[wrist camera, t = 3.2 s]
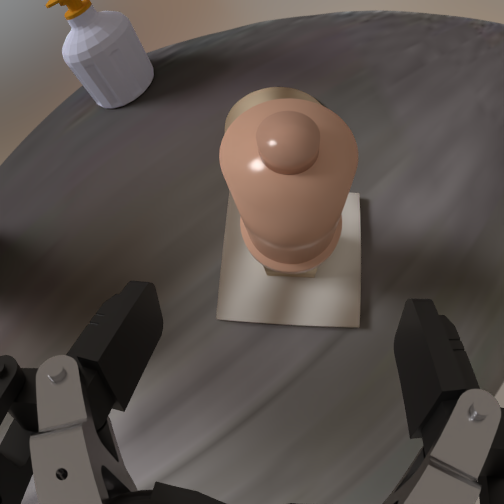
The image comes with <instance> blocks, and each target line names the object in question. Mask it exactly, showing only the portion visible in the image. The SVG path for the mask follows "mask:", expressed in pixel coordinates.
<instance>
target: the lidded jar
mask: <svg viewBox="0 0 504 504" xmlns="http://www.w3.org/2000/svg"><path fill="white" fill-rule="evenodd" d="M219 157H220V166H221V170H222V173H223V175H224V177H225V180H226V182H227V185H228V187H229V189H230V192H231V194H232V197H233V199H234V201H235V204H236V206H237V209H238V211H239V213H240V216H241V217H240V228H241V234H242V237H243V240H244V242H245V244H246V246H247V248H248V250H249V252H250V253H251V255H252V256H253V257H254V258H255V259H256V260H257V261H258V262H259V263H260V264H262V265H263V266H265V267H266V268H268V269H270V270H273V271H275V272H279V273H284V274H299V273H304V272H308V271H310V270H313V269H315V268H316V267H318V266H320V265H321V264H322V263H324V262H325V261H326V260H327V259H328V258H329V257H330V256H331V254H332V253H333V251H334V250H335V248H336V246H337V243H338V241H339V238H340V236H341V231H342V215H341V214H342V211H343V208H344V205H345V202H346V199H347V196H348V194H349V191H350V188H351V185H352V182H353V179H354V176H355V173H356V169H357V165H358V149H357V144H356V141H355V138H354V136H353V134H352V132H351V130H350V129H349V127H348V126H347V124H346V123H345V122H344V121H343V120H342V119H341V118H340V117H339V116H338V115H337V114H335V113H334V112H332V111H331V110H329V109H328V108H326V107H324V106H322V105H319V104H317V103H314V102H311V101H307V100H302V99H293V98H285V99H275V100H270V101H266V102H263V103H260V104H258V105H256V106H253V107H251V108H250V109H248V110H246V111H245V112H243V113H242V114H241V115H240V116H238V117H237V118H236V119H235V120H234V121H233V122H232V124H231V125H230V126H229V128H228V129H227V131H226V133H225V135H224V137H223V140H222V142H221V147H220V155H219Z"/></svg>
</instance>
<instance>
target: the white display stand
mask: <svg viewBox="0 0 504 504" xmlns="http://www.w3.org/2000/svg"><path fill="white" fill-rule="evenodd" d="M341 215H342V231H341V236H340V238H339V241H338V243H337V246H336V248H335V250H334V251H333V253H332V254H331V256H330V257H329V258H328V259H327V260H326V261H325V262H324V263H322V264H321V265H320V266H318V267H316V268H315V269H313V270H310V271H308V272H304V273H299V274H284V273H279V272H275V271H273V270H270V269H268V268H266V267H265V266H263V265H262V264H260V263H259V262H258V261H257V260H256V259H255V258H254V257H253V256H252V255H251V253H250V252H249V250H248V248H247V246H246V244H245V242H244V240H243V237H242V234H241V228H240V217H241V216H240V213H239V211H238V209H237V206H236V204H235V201H234V199H233V197H232V194H231V192H229V200H228V209H227V218H226V227H225V236H224V245H223V254H222V264H221V273H220V283H219V293H218V304H217V314H216V319H218V320H226V321H238V322H251V323H265V324H281V325H299V326H320V327H351V328H358V327H359V325H360V298H361V226H360V199H359V193H349V194H348V196H347V199H346V202H345V205H344V208H343V211H342V214H341Z"/></svg>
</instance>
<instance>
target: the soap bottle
mask: <svg viewBox="0 0 504 504" xmlns="http://www.w3.org/2000/svg"><path fill="white" fill-rule="evenodd" d="M57 3H59V4H60V5H61V6H64V5H66V6H67V7H68V9H69V10H68V11H67V12H66V13H65V18H66V19H67V21H68V23H69V24H70V26H71V27H72V29H71V31H70V32H69V34H68V35H67V37H66V40H65V42H64V45H63V48H62V54H63V58H64V60H65V62H66V64H67V65H68V66H69V67H70V69H71V70H72V72H73V73H74V74H75V76H76V77H77V78H78V79H79V81H80V82H81V83H82V85H83V86H84V87H85V89H86V90H87V91H88V93H89V94H90V95H91V96H92V98H93V99H94V100H95V102H96V103H97V104H98V105H100V106H102V107H103V108H117V107H120V106H124V105H126V104H128V103H130V102H131V101H133V100H135V99H136V98H137V97H139V96H140V95H141V94H142V93H144V91H145V90H146V89H147V88H148V86H149V85H150V84H151V81H152V79H153V77H154V71H153V66H152V64H151V62H150V60H149V58H148V56H147V54H146V52H145V51H144V48H143V46H142V44H141V43H140V41H139V38H138V37H137V35H136V33H135V30H134V29H133V27H132V24H131V23H130V21H129V19H128V18H127V17H126V16H125V15H124V14H122V13H121V12H116V11H102V12H96V10H95V9H94V7H93V5H92V3H91V2H90V0H83V1H81V0H49V1H48V3H47V4H46V7H47V8H50V7H52V6H54V5H55V4H57Z"/></svg>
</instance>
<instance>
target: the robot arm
mask: <svg viewBox="0 0 504 504" xmlns="http://www.w3.org/2000/svg"><path fill="white" fill-rule="evenodd" d="M162 331H163V318H162V313H161V309H160V305H159V301H158V297H157V293H156V288H155V286H154V284H153V283H150V282H140V281H130V282H129V283H128V284H127V285H126V286H125V288H124V289H123V290H122V292H121V293H120V294H115V295H114V296H113V297H111V298H110V299H108V300H107V301H106V302H104V303H103V305H102V306H101V307H100V309H99V310H98V311H97V313H96V315H94V317H93V318H92V320H91V321H90V324H88V325H87V326H86V328H85V329H84V331H83V332H82V333H81V335H80V336H79V338H78V339H77V340H76V342H75V343H74V345H73V346H72V347H71V349H70V350H69V352H68V353H67V355H58V356H54V357H51V358H49V359H48V360H46V361H45V362H44V363H43V364H42V365H41V366H40V367H39V368H20V366H19V365H18V363H17V362H16V360H15V359H14V358H13V357H11V356H8V355H4V356H0V425H1V423H2V421H3V419H4V418H5V416H6V414H7V412H9V414H10V415H11V416H12V417H13V418H14V420H13V422H12V424H11V425H10V427H9V429H8V431H7V433H6V435H5V437H4V439H3V441H2V443H1V445H0V504H21V501H22V499H23V496H24V494H25V491H26V489H27V487H28V484H29V482H30V479H31V477H32V475H34V481H35V487H36V492H37V498H38V503H39V504H226V503H223V502H221V501H218V500H216V499H214V498H211V497H209V496H207V495H204V494H202V493H200V492H198V491H193V490H189V489H184V488H180V487H175V486H171V485H167V484H163V483H160V482H155V485H154V488H153V490H140V491H138V490H137V488H136V486H135V484H134V482H133V480H132V478H131V476H130V475H129V473H128V471H127V469H126V467H125V465H124V462H123V459H122V456H121V453H120V450H119V447H118V444H117V441H116V438H115V434H114V431H113V427H112V424H111V420H110V418H109V416H108V415H109V413H110V411H111V409H112V408H113V409H116V410H120V411H124V412H125V409H126V407H127V405H128V403H129V401H130V399H131V397H132V395H133V392H134V390H135V388H136V386H137V384H138V382H139V380H140V378H141V376H142V374H143V372H144V370H145V368H146V365H147V363H148V361H149V359H150V357H151V355H152V353H153V351H154V349H155V347H156V345H157V343H158V341H159V339H160V337H161V335H162ZM394 354H395V359H396V363H397V368H398V373H399V378H400V383H401V388H402V393H403V399H404V404H405V410H406V416H407V422H408V429H409V435H410V439H413V438H422V439H423V447H422V448H421V449H420V451H419V452H418V454H417V456H416V457H415V459H414V460H413V462H412V463H411V465H410V467H409V468H408V470H407V471H406V473H405V474H404V476H403V477H402V479H401V480H400V481H399V483H398V484H397V486H396V487H395V489H394V490H393V491H392V493H391V494H390V495H389V497H388V498H387V499H386V500H385V501H384V502H383V503H382V504H475V502H476V500H477V498H478V496H479V497H480V504H504V408H501V407H500V405H499V403H498V401H497V400H496V399H495V398H494V396H493V395H491V394H490V393H488V392H487V391H484V390H481V389H480V388H479V385H478V382H477V380H476V377H475V374H474V372H473V369H472V366H471V364H470V361H469V359H468V356H467V354H466V351H464V346H463V344H462V342H461V341H460V337H459V335H458V332H457V330H456V328H455V326H454V325H453V324H452V323H451V322H450V321H449V319H448V318H447V317H446V316H445V315H438V312H437V310H436V308H435V305H434V303H433V301H432V300H431V299H408V300H407V301H406V304H405V307H404V310H403V313H402V316H401V319H400V323H399V326H398V329H397V332H396V335H395V339H394ZM477 480H478V482H477ZM290 504H294V503H290Z"/></svg>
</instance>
